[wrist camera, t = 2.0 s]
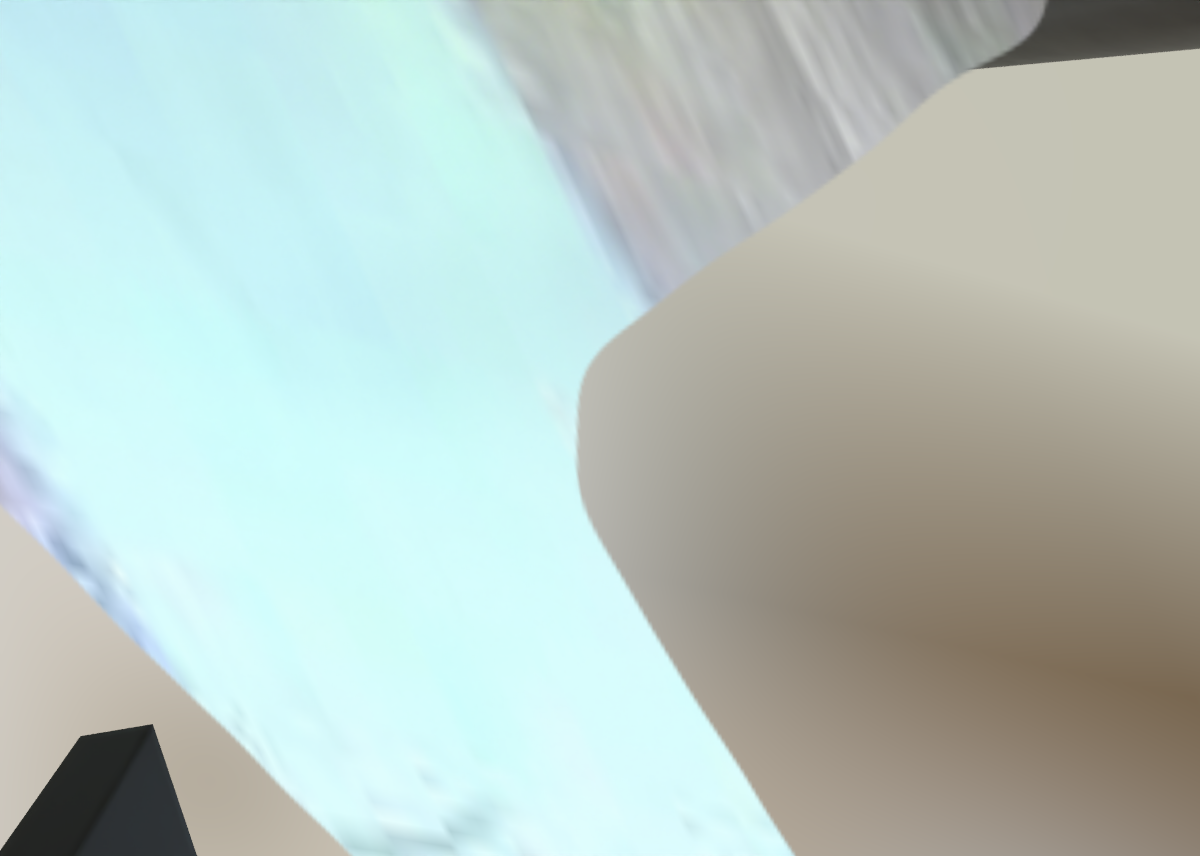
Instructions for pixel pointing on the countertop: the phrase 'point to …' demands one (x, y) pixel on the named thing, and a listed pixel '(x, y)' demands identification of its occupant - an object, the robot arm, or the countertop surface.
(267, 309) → the countertop surface
